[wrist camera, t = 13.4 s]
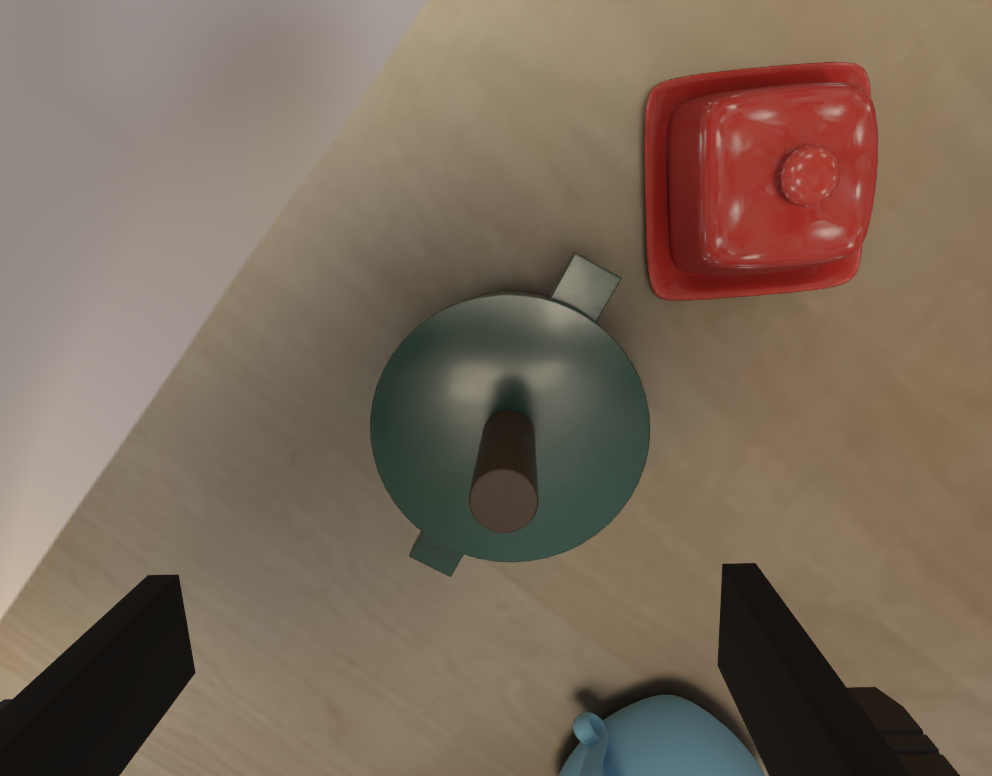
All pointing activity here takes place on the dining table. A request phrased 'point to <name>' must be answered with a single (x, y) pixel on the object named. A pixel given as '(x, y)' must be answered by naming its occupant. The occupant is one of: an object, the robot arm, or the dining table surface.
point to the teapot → (658, 743)
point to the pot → (575, 288)
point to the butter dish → (758, 180)
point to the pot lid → (510, 427)
